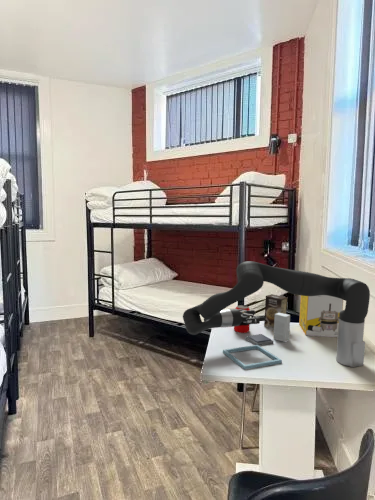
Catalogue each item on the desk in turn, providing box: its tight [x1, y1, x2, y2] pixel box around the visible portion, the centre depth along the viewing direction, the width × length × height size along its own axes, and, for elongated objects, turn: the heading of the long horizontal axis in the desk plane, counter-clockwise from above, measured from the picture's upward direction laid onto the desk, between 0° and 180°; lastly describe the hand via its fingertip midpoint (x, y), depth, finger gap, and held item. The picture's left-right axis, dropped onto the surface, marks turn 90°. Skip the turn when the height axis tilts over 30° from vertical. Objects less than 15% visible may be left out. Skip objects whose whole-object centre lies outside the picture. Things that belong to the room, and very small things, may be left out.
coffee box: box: [263, 294, 288, 330], centre depth 186 cm, size 9×6×16 cm
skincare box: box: [273, 313, 291, 343], centre depth 168 cm, size 6×4×12 cm
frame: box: [222, 344, 283, 370], centre depth 148 cm, size 17×17×1 cm
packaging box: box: [298, 295, 344, 338], centre depth 181 cm, size 16×16×25 cm
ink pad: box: [245, 333, 275, 347], centre depth 166 cm, size 9×9×2 cm
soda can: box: [233, 305, 251, 334], centre depth 180 cm, size 8×8×12 cm
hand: (259, 315), depth 163 cm, fingers open, 8 cm apart
